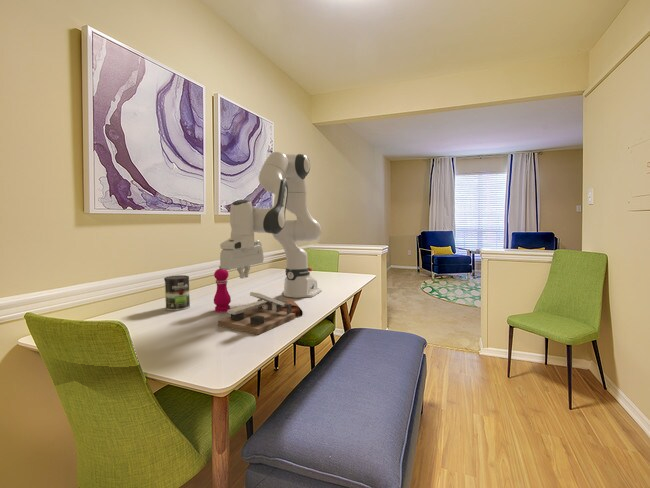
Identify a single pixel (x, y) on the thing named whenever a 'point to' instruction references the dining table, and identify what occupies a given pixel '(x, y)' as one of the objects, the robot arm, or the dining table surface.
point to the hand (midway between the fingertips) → (244, 277)
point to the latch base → (257, 329)
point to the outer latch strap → (268, 299)
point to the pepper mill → (221, 291)
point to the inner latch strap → (247, 307)
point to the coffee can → (177, 292)
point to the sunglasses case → (293, 308)
